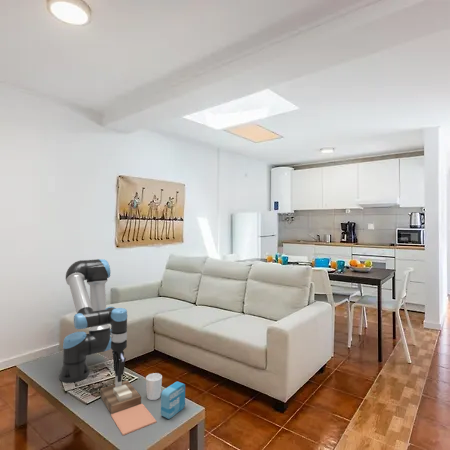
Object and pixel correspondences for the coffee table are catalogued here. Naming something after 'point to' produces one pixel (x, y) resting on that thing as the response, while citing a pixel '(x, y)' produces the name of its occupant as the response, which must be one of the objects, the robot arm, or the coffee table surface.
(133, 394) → the block
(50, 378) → the coffee table surface
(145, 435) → the coffee table surface
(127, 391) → the birch tile
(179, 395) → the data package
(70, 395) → the coffee table surface
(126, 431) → the terracotta mat
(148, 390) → the white cup
